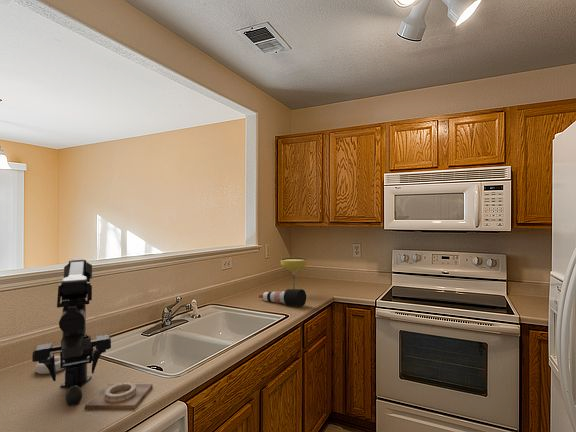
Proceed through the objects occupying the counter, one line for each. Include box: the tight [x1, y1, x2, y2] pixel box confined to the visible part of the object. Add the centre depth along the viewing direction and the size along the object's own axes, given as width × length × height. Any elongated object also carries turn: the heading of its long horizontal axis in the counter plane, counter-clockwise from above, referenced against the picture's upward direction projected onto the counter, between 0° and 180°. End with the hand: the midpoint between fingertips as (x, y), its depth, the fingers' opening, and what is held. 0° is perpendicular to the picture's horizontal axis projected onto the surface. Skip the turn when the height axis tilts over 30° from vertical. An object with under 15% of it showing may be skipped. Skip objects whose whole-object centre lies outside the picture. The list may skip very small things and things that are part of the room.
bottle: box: [258, 288, 307, 307], centre depth 210 cm, size 10×34×10 cm, turn 51°
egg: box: [64, 385, 83, 407], centre depth 96 cm, size 4×4×5 cm
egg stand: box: [84, 381, 153, 410], centre depth 99 cm, size 12×14×2 cm
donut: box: [34, 355, 65, 375], centre depth 118 cm, size 10×4×10 cm
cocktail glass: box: [280, 257, 308, 289], centre depth 232 cm, size 18×18×25 cm
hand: (74, 376), depth 96 cm, fingers open, 9 cm apart
